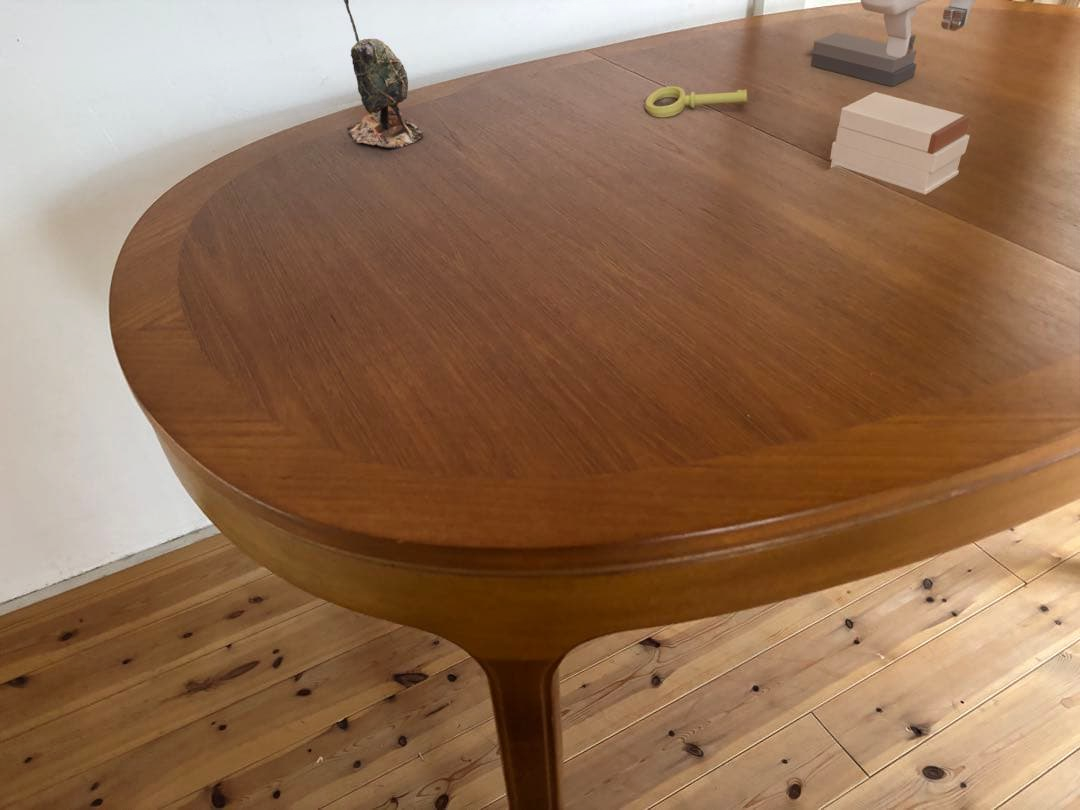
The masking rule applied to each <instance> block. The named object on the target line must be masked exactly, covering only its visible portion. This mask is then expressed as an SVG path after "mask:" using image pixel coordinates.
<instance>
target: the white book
mask: <svg viewBox="0 0 1080 810" xmlns="http://www.w3.org/2000/svg"><path fill="white" fill-rule="evenodd" d="M970 119H971V116H970V115H966V114H961V113H958V112H954V111H949V110H945V109H942V108H938V107H935V106H930V105H927V104H924V103H919V102H915V101H911V100H908V99H904V98H900V97H896V96H893V95H889V94H885V93H882V92H878V91H874V92H872V93H870V94H868V95H866V96H864V97H862V98H860V99H858V100H857V101H854V102H852V103H850V104H848V105H845V106H844V107H842V108H841V110H840V116H839V122H838V126H841V127H844V128H848V129H851V130H854V131H858V132H861V133H864V134H868V135H871V136H875V137H878V138H881V139H885V140H888V141H891V142H895V143H898V144H902V145H905V146H908V147H912V148H915V149H918V150H922V151H925V152H928V153H931V154H934V153H935V152H937V151H939V150H941V149H942V148H944V147H946V146H947V145H949V144H951V143H952V142H954V141H956V140H958V139H959V138H961V137H963V136H964V135H966V134H967V131H968V126H969V123H970Z"/></svg>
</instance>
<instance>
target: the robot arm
mask: <svg viewBox="0 0 1080 810" xmlns="http://www.w3.org/2000/svg"><path fill="white" fill-rule="evenodd" d="M929 1H930V0H860V4H861V7H862V9H863V10H865V11H869V12H873V13H878V14H882V15H883V20H884V24H885V29H886V34H887V35H888V36H887V41H886V43H887V47H886V54H887V55H888V56H891V57H896V58H902V57H904V56H906V55H908V54H910V53H911V52H912V50H914V44H915V41H916V34H915V33H912V25H911V23H912V22H911V21H912V20H911V19H913V18H915V16H916V11H917V6H920V5H922V4H924V3H927V2H929ZM975 1H976V0H950V1H949V4H948V6H947V7H945V8H944V9H943V14H942V20H941V24H940V25H941V28H942V29H943V30H946V31H947V30H949V31H952V32H956V31H958V30H960V29H963V28H964V27H966V26H967V24H968V20H969V15H970V12H971V9H972V7H973V5H974V3H975Z"/></svg>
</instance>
